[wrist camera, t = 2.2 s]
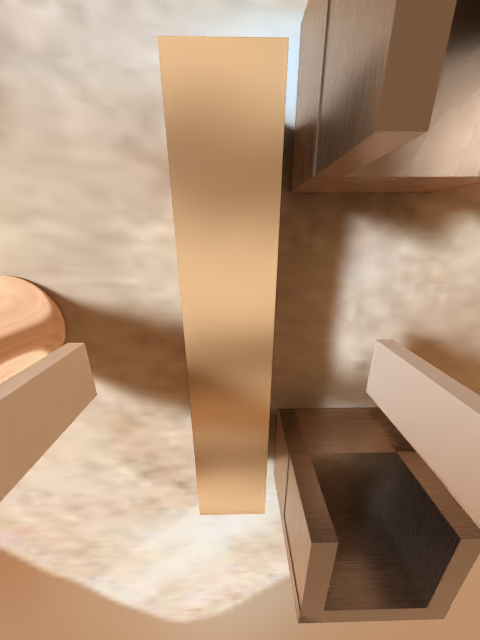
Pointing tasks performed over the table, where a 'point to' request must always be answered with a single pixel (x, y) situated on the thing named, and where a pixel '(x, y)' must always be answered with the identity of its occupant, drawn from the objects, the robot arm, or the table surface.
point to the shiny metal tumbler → (26, 325)
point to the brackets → (371, 423)
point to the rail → (227, 248)
